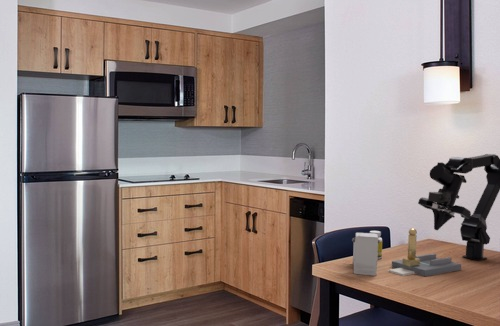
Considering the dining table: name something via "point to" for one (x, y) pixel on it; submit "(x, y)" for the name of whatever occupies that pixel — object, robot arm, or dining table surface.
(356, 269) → the supplement box
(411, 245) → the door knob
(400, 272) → the cover
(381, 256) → the supplement bottle
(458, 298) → the dining table surface
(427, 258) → the lock plate
